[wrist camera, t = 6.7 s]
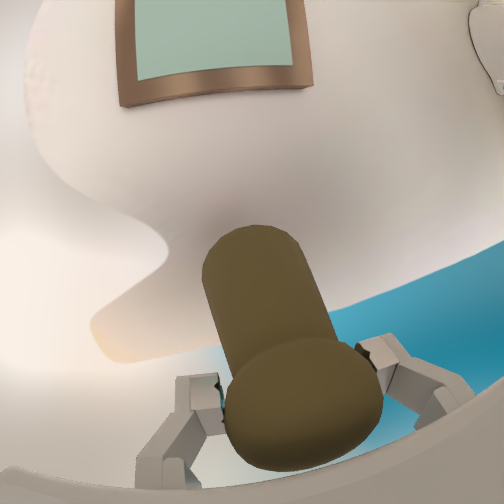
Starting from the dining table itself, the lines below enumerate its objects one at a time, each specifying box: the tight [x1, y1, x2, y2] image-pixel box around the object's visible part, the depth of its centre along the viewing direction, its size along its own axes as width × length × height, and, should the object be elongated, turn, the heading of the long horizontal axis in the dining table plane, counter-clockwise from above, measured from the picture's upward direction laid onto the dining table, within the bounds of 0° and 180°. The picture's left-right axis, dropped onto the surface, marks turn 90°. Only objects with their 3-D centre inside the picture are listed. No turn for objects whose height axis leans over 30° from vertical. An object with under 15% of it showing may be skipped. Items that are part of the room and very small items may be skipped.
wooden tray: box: [115, 0, 314, 108], centre depth 21 cm, size 18×16×3 cm
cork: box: [202, 225, 384, 472], centre depth 12 cm, size 6×6×11 cm
